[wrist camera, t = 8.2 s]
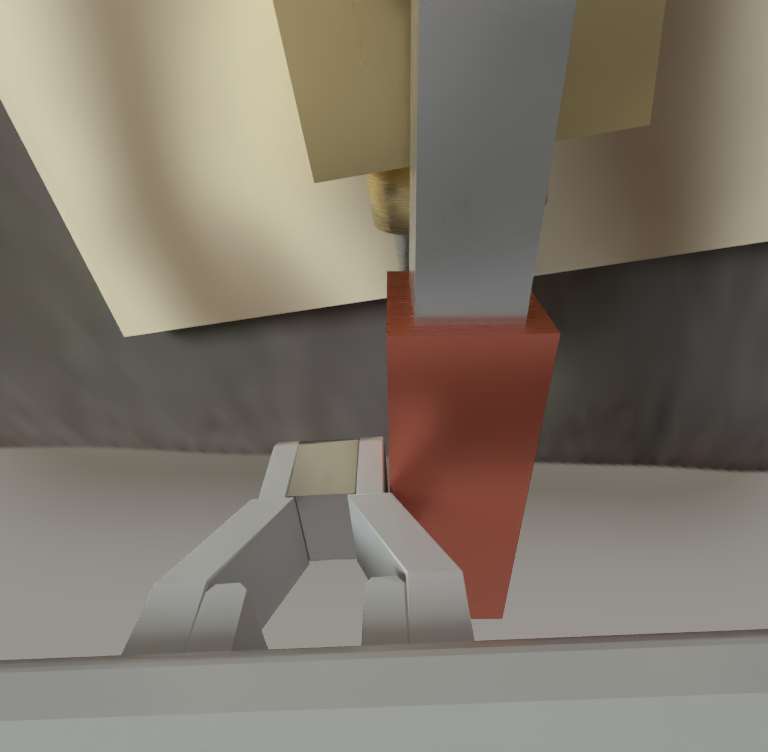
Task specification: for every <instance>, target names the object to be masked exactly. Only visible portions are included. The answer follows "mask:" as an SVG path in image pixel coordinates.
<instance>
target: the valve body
mask: <svg viewBox="0 0 768 752" xmlns="http://www.w3.org/2000/svg"><path fill="white" fill-rule="evenodd" d="M665 3H666V0H577V3H576V10H575V16H574V22H573V29H572V35H571V41H570V48H569V54H568V60H567V67H566V73H565V79H564V86H563V92H562V98H561V105H560V111H559V117H558V124H557V130H556V136H555V141H560V140H566V139H572V138H577V137H583V136H589V135H595V134H600V133H606V132H612V131H617V130H623V129H629V128H635V127H640V126H646V125H650V121H651V113H652V105H653V97H654V89H655V81H656V74H657V66H658V58H659V50H660V42H661V35H662V27H663V19H664V11H665ZM273 4H274V9H275V13H276V17H277V22H278V26H279V31H280V35H281V39H282V44H283V48H284V53H285V57H286V61H287V66H288V70H289V75H290V79H291V83H292V88H293V92H294V97H295V101H296V105H297V110H298V114H299V118H300V123H301V127H302V132H303V136H304V140H305V145H306V149H307V154H308V158H309V162H310V167H311V171H312V176H313V180H314V183H319V182H325V181H331V180H336V179H342V178H348V177H354V176H359V175H365V176H366V182H367V188H368V194H369V199H370V205H371V211H372V217H373V223H374V226H375V227H376V228H377V229H378V230H380V231H383V232H386V233H390V234H394V239H395V246H396V253H397V259H398V266H399V271H409V221H410V88H411V0H273ZM547 202H548V187H547V194H546V200H545V205H546V204H547Z"/></svg>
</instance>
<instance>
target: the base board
mask: <svg viewBox="0 0 768 752" xmlns="http://www.w3.org/2000/svg"><path fill="white" fill-rule="evenodd" d="M0 99H1V101H2V103H3V105H4V107H5V109H6V111H7V113H8V115H9V117H10V119H11V120H12V122H13V124H14V126H15V128H16V130H17V132H18V134H19V136H20V138H21V140H22V142H23V144H24V145H25V147H26V149H27V151H28V153H29V155H30V157H31V159H32V161H33V163H34V165H35V167H36V169H37V170H38V172H39V174H40V176H41V178H42V180H43V182H44V184H45V186H46V188H47V190H48V192H49V194H50V195H51V197H52V199H53V201H54V203H55V205H56V207H57V209H58V211H59V213H60V215H61V217H62V218H63V220H64V222H65V224H66V226H67V228H68V230H69V232H70V234H71V236H72V238H73V240H74V242H75V243H76V245H77V247H78V249H79V251H80V253H81V255H82V257H83V259H84V261H85V263H86V265H87V267H88V268H89V270H90V272H91V274H92V276H93V278H94V280H95V282H96V284H97V286H98V288H99V290H100V291H101V293H102V295H103V297H104V299H105V301H106V303H107V305H108V307H109V309H110V311H111V313H112V315H113V316H114V318H115V320H116V322H117V324H118V326H119V328H120V330H121V332H122V334H123V336H124V337H128V336H134V335H141V334H148V333H155V332H161V331H168V330H175V329H181V328H188V327H195V326H202V325H208V324H215V323H222V322H229V321H235V320H242V319H249V318H255V317H262V316H269V315H276V314H282V313H289V312H296V311H303V310H309V309H316V308H323V307H329V306H336V305H343V304H350V303H356V302H363V301H370V300H377V299H383V298H387V271H399V266H398V259H397V253H396V246H395V239H394V234H390V233H386V232H383V231H380V230H378V229H377V228H376V227H375V226H374V223H373V217H372V211H371V205H370V199H369V194H368V188H367V182H366V176H365V175H359V176H354V177H348V178H342V179H336V180H331V181H325V182H319V183H314V180H313V176H312V171H311V167H310V162H309V158H308V154H307V149H306V145H305V140H304V136H303V132H302V127H301V123H300V118H299V114H298V110H297V105H296V101H295V97H294V92H293V88H292V83H291V79H290V75H289V70H288V66H287V61H286V57H285V53H284V48H283V44H282V39H281V35H280V31H279V26H278V22H277V17H276V13H275V9H274V4H273V0H0ZM767 241H768V0H666V3H665V11H664V19H663V27H662V35H661V42H660V50H659V58H658V66H657V74H656V81H655V89H654V97H653V105H652V113H651V121H650V125H646V126H640V127H635V128H629V129H623V130H617V131H612V132H606V133H600V134H595V135H589V136H583V137H577V138H572V139H566V140H560V141H555V143H554V149H553V156H552V162H551V168H550V175H549V181H548V202H547V204H546V205H545V206H544V213H543V219H542V225H541V232H540V238H539V244H538V251H537V257H536V263H535V270H534V276H538V275H545V274H551V273H558V272H565V271H572V270H578V269H585V268H592V267H599V266H605V265H612V264H619V263H625V262H632V261H639V260H646V259H652V258H659V257H666V256H673V255H679V254H686V253H693V252H699V251H706V250H713V249H720V248H726V247H733V246H740V245H747V244H753V243H760V242H767Z"/></svg>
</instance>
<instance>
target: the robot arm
mask: <svg viewBox="0 0 768 752" xmlns="http://www.w3.org/2000/svg"><path fill="white" fill-rule="evenodd" d="M332 559H357V561H358V563H359V565H360V567H361V568H362V570H363V571H364V573H365V575H366V576H367V578H368V581H367V583H365V584H364V605H363V625H362V645H361V646H345V647H323V648H322V647H321V648H298V649H297V648H296V649H270V650H268V647H267V645H266V642H265V639H264V637H263V633H262V631H261V630H262V628H263V627H264V626H265V624H266V623H267V622H268V620H269V619H270V617H271V616H272V614H273V613H274V612H275V610H276V609H277V608H278V606H279V605H280V604H281V602H282V601H283V599H284V598H285V597H286V595H287V594H288V593H289V591H290V590H291V588H292V587H293V586H294V584H295V583H296V582H297V580H298V579H299V577H300V576H301V575H302V573H303V572H304V571H305V569H306V568H307V566H308V565H309V561H318V560H332ZM0 752H768V629H759V630H734V631H709V632H684V633H660V634H637V635H635V634H634V635H610V636H586V637H562V638H537V639H513V640H512V639H511V640H487V641H474V636H473V630H472V624H471V618H470V612H469V606H468V600H467V595H466V589H465V583H464V577H463V571H462V570H461V569H460V568H459V567H458V566H457V565H456V564H455V562H454V561H453V560H452V559H451V558H450V557H449V556H448V555H447V554H446V552H445V551H444V550H443V549H442V548H441V547H440V546H439V545H438V544H437V542H436V541H435V540H434V539H433V538H432V537H431V536H430V535H429V534H428V532H427V531H426V530H425V529H424V528H423V527H422V526H421V525H420V524H419V522H418V521H417V520H416V519H415V518H414V517H413V516H412V515H411V513H410V512H409V511H408V510H407V509H406V508H405V507H404V506H403V505H402V503H401V502H400V501H399V500H398V499H397V498H396V497H395V496H394V495H393V493H388V481H387V468H386V455H385V442H384V438H383V436H382V437H369V438H360V439H348V440H317V441H301V442H299V441H295V442H277V444H276V445H275V446H274V448H273V451H272V455H271V458H270V461H269V465H268V468H267V471H266V475H265V478H264V481H263V485H262V488H261V491H260V495H259V498H258V499H252V500H250V501H249V502H248V503H247V504H245V505H244V506H243V507H242V508H241V509H240V510H238V511H237V512H236V513H235V514H234V515H233V516H232V517H230V518H229V519H228V520H227V521H226V522H225V523H224V524H223V525H221V526H220V527H219V528H218V529H217V530H216V531H214V532H213V533H212V534H211V535H210V536H209V537H208V538H207V539H205V540H204V541H203V542H202V543H201V544H200V545H198V546H197V547H196V548H195V549H194V550H193V551H191V552H190V553H189V554H188V555H187V556H186V557H185V558H183V559H182V560H181V561H180V562H179V563H178V564H177V565H175V567H173V568H172V569H171V570H170V571H169V572H168V573H166V574H165V575H164V576H163V577H162V578H161V579H159V580H158V581H157V582H156V583H155V584H154V585H153V587H152V590H151V592H150V594H149V596H148V598H147V600H146V603H145V605H144V607H143V609H142V611H141V613H140V616H139V618H138V620H137V622H136V625H135V627H134V629H133V631H132V633H131V635H130V638H129V640H128V642H127V644H126V646H125V648H124V651H123V653H122V655H120V656H96V657H71V658H48V659H47V658H45V659H22V660H0Z"/></svg>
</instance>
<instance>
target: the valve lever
mask: <svg viewBox="0 0 768 752" xmlns="http://www.w3.org/2000/svg"><path fill="white" fill-rule="evenodd" d="M576 3H577V0H411V88H410V221H409V271H387V378H388V425H389V468H390V469H389V473H390V493H393V495H394V496H395V497H396V498H397V499H398V500H399V501H400V502H401V503H402V505H403V506H404V507H405V508H406V509H407V510H408V511H409V512H410V513H411V515H412V516H413V517H414V518H415V519H416V520H417V521H418V522H419V524H420V525H421V526H422V527H423V528H424V529H425V530H426V531H427V532H428V534H429V535H430V536H431V537H432V538H433V539H434V540H435V541H436V542H437V544H438V545H439V546H440V547H441V548H442V549H443V550H444V551H445V552H446V554H447V555H448V556H449V557H450V558H451V559H452V560H453V561H454V562H455V564H456V565H457V566H458V567H459V568H460V569H461V570H462V571H463V577H464V583H465V589H466V595H467V600H468V606H469V612H470V618H471V619H502V617H503V612H504V607H505V602H506V596H507V592H508V588H509V582H510V578H511V573H512V567H513V563H514V558H515V553H516V548H517V544H518V538H519V534H520V528H521V524H522V519H523V514H524V509H525V504H526V499H527V494H528V490H529V485H530V480H531V475H532V470H533V465H534V460H535V456H536V451H537V446H538V441H539V436H540V431H541V426H542V421H543V416H544V411H545V407H546V402H547V397H548V392H549V387H550V382H551V377H552V372H553V367H554V363H555V358H556V353H557V348H558V343H559V338H560V332H559V330H558V329H557V327H556V326H555V325H554V323H553V322H552V320H551V319H550V317H549V316H548V314H547V313H546V311H545V310H544V308H543V307H542V306H541V304H540V303H539V301H538V300H537V298H536V297H535V295H534V294H533V292H532V291H531V289H532V282H533V276H534V270H535V263H536V257H537V251H538V244H539V238H540V232H541V225H542V219H543V213H544V206H545V200H546V194H547V187H548V181H549V175H550V168H551V162H552V156H553V149H554V143H555V136H556V130H557V124H558V117H559V111H560V105H561V98H562V92H563V86H564V79H565V73H566V67H567V60H568V54H569V48H570V41H571V35H572V29H573V22H574V16H575V10H576Z"/></svg>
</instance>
